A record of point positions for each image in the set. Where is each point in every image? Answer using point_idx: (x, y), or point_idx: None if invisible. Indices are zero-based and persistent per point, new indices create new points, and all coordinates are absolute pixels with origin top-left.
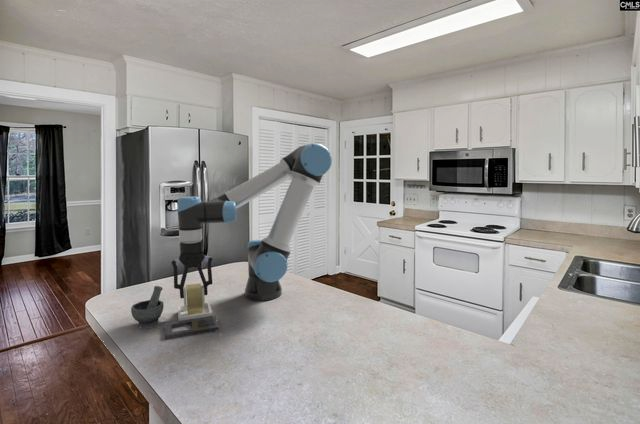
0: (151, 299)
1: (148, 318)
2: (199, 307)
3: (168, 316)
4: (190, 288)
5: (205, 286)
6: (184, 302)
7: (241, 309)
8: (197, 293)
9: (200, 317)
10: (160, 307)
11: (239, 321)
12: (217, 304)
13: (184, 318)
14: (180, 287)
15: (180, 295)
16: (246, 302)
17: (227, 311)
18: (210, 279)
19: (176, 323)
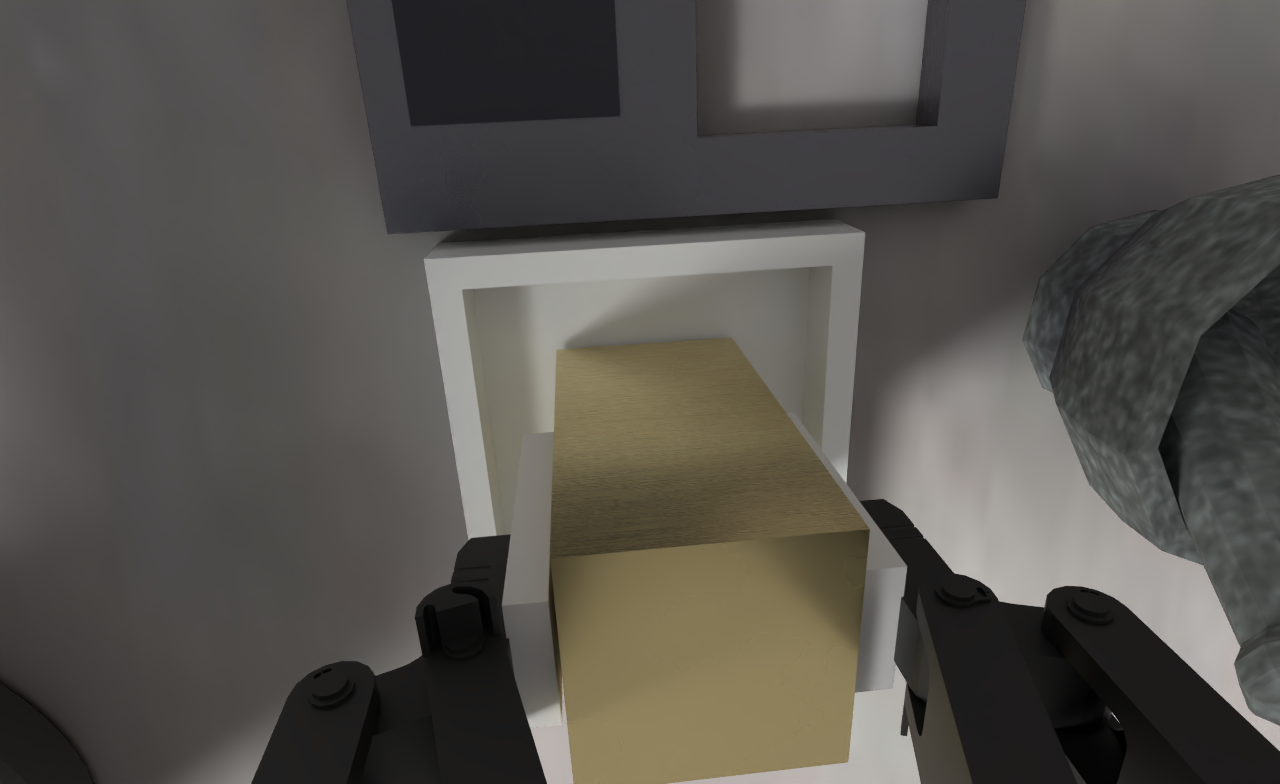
0: None
1: (1258, 181)
2: (597, 384)
3: (916, 467)
4: (782, 561)
5: (463, 598)
6: (815, 447)
7: (78, 430)
8: (632, 486)
9: (583, 241)
10: (1178, 292)
11: (34, 12)
12: (405, 642)
13: (782, 234)
14: (989, 604)
15: (909, 527)
16: (48, 621)
17: (262, 418)
18: (303, 764)
19: (879, 134)
